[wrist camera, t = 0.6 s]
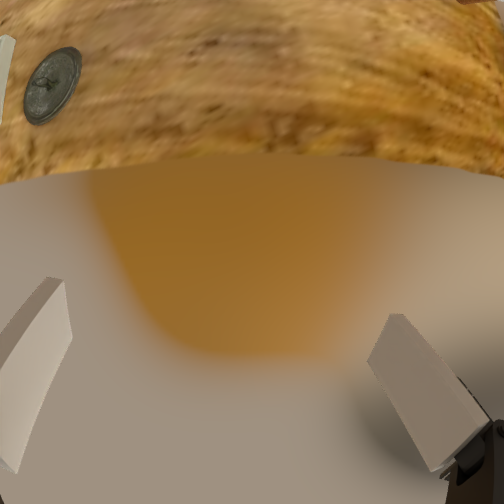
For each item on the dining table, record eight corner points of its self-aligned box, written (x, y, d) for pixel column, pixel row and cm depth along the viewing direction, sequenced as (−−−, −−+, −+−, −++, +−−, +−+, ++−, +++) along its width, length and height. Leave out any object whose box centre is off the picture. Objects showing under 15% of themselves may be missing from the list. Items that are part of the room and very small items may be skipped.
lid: (69, 135, 29) (51, 133, 24) (15, 117, 26) (-4, 114, 21) (105, 58, 27) (93, 46, 22) (48, 45, 24) (32, 34, 19)
